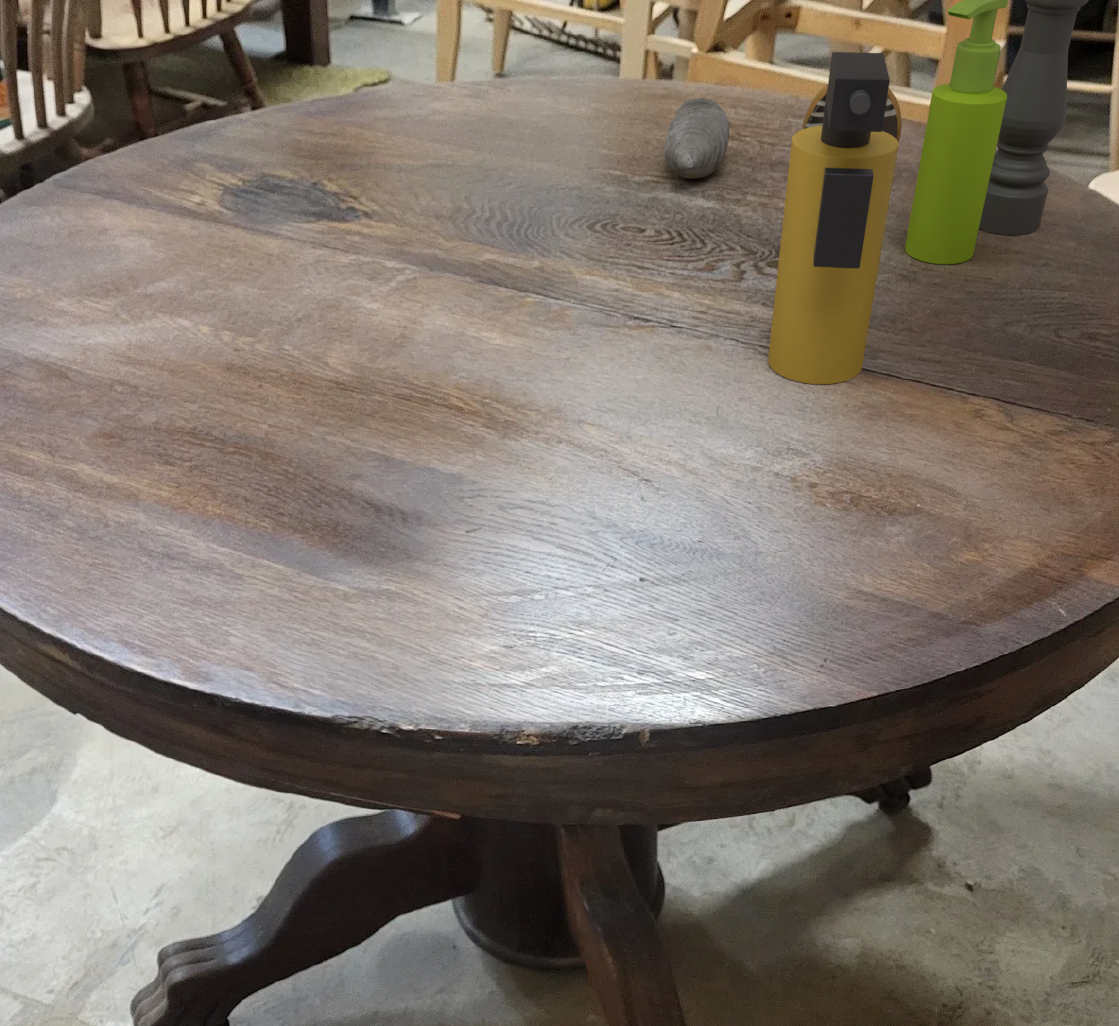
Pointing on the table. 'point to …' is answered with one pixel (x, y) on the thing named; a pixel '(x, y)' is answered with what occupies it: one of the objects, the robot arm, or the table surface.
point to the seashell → (697, 138)
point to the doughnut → (891, 116)
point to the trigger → (842, 217)
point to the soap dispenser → (959, 145)
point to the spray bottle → (801, 289)
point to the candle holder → (1030, 119)
